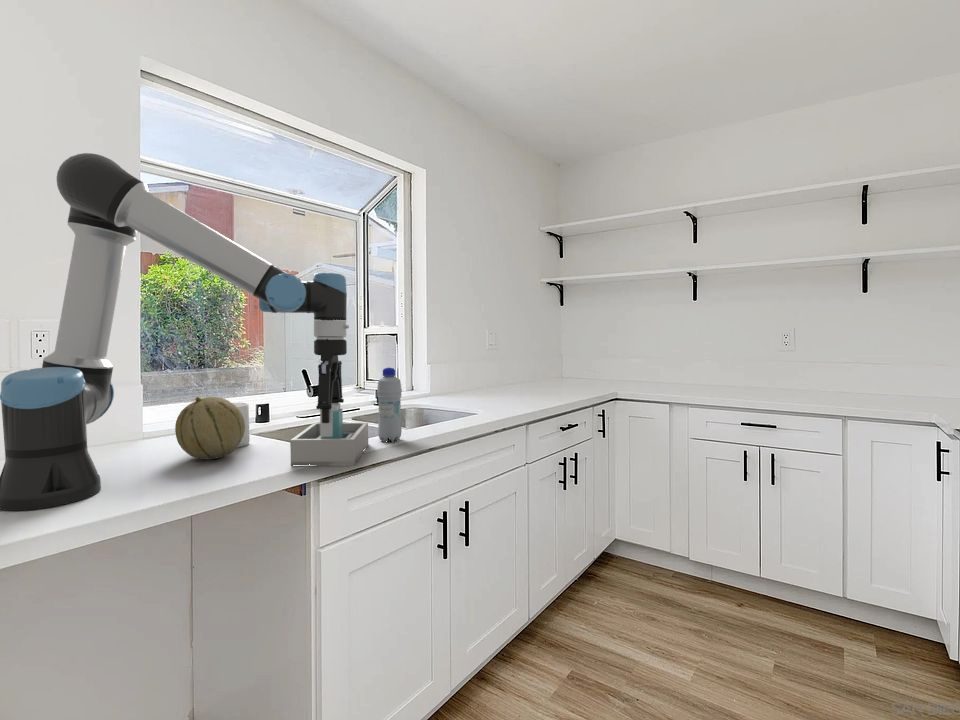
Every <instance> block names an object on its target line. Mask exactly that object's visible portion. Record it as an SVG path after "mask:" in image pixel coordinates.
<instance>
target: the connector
mask: <svg viewBox="0 0 960 720" xmlns="http://www.w3.org/2000/svg"><path fill="white" fill-rule="evenodd" d="M331 406H332V408H331V409H333V436H332V437H322V439H343V423H344V422H343V416H344V415H343V408H340V409H339V404H332V405H331Z"/></svg>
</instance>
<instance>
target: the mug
mask: <svg viewBox="0 0 960 720" xmlns="http://www.w3.org/2000/svg"><path fill="white" fill-rule="evenodd" d="M231 403H232V404H234V405H235V406H236V407H237V408H238V409H239V411H240V412H241V414H242V415H243V418H244V422H245V431H244V436H243V438H242V440H241V442H240V443H239V445H238V446H237V448H236V449H239V448H243V447H246V446H248V445H249V443H250V442H251V441H250V440H251V439H250V437H251V436H250V435H251V434H250V412H249V411H250V406H249V403H247V402H231Z"/></svg>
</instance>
